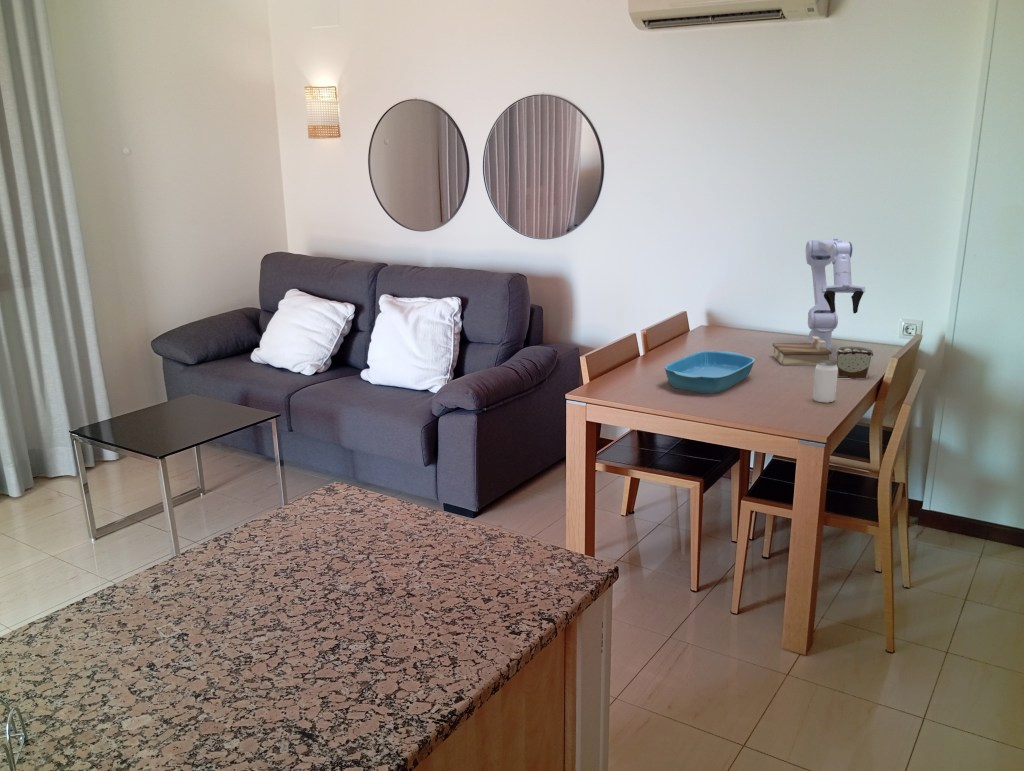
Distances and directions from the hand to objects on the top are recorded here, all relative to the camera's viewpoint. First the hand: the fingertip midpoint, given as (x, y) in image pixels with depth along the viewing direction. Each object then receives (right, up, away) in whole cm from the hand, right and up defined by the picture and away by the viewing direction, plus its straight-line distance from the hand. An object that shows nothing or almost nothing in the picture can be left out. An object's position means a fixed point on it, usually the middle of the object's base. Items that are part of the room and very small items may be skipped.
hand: (844, 312), depth 281 cm
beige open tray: (-10, -17, +14) cm, 25 cm away
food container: (0, -23, -4) cm, 23 cm away
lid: (-10, -13, +13) cm, 21 cm away
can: (-19, -30, -30) cm, 47 cm away
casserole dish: (-49, -25, -8) cm, 56 cm away
